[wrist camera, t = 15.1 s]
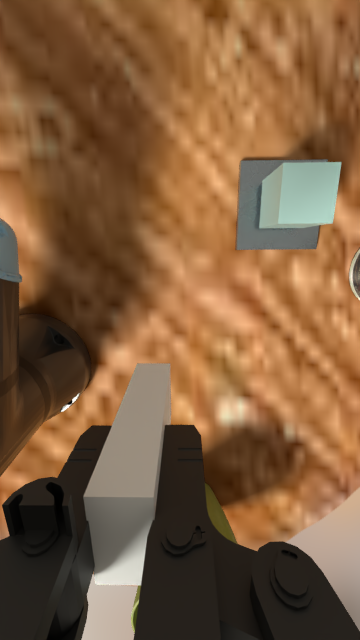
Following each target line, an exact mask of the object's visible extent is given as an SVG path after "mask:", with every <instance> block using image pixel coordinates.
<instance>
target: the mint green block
mask: <svg viewBox="0 0 360 640" xmlns="http://www.w3.org/2000/svg"><path fill="white" fill-rule="evenodd" d="M340 169H341V162H304V163H283V164H281V165H280V166H279V167H278V168H277V169H276V170H274V171H273V172H272V173H271V174H270V175H269V176H267V177H266V178H265V179H264V180H263V181H262V195H261V209H260V223H259V228H306V227H312V226H319V225H325V224H331V223H333V218H334V211H335V204H336V197H337V190H338V183H339V176H340Z"/></svg>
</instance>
